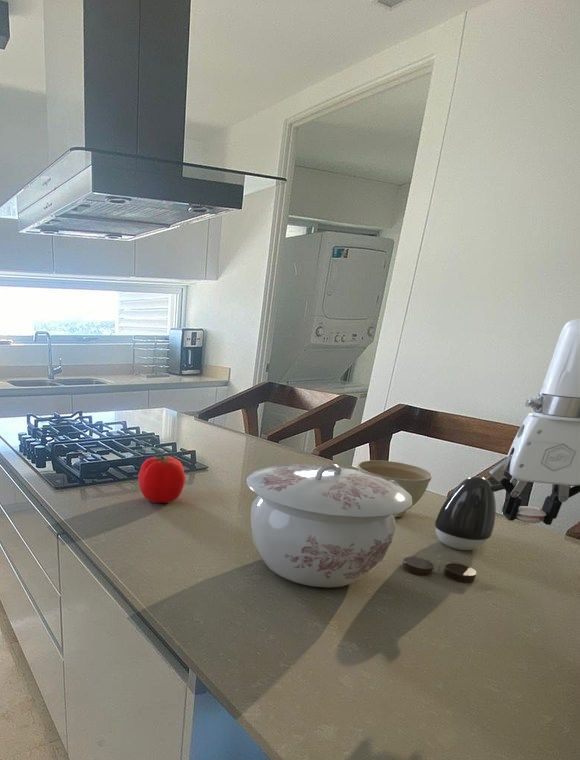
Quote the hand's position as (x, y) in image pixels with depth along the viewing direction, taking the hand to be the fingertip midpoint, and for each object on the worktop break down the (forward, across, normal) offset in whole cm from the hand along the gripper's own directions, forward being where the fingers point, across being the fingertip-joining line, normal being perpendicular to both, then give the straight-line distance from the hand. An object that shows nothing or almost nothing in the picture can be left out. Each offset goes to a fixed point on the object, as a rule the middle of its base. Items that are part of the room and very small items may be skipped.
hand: (526, 518), depth 81 cm
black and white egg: (+14, -2, +20) cm, 24 cm away
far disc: (+14, -13, +4) cm, 19 cm away
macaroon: (0, 0, 0) cm, 1 cm away
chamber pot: (+14, -32, -4) cm, 35 cm away
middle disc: (+14, -6, +4) cm, 15 cm away
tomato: (+13, -69, +23) cm, 74 cm away
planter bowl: (+14, -15, +36) cm, 41 cm away
